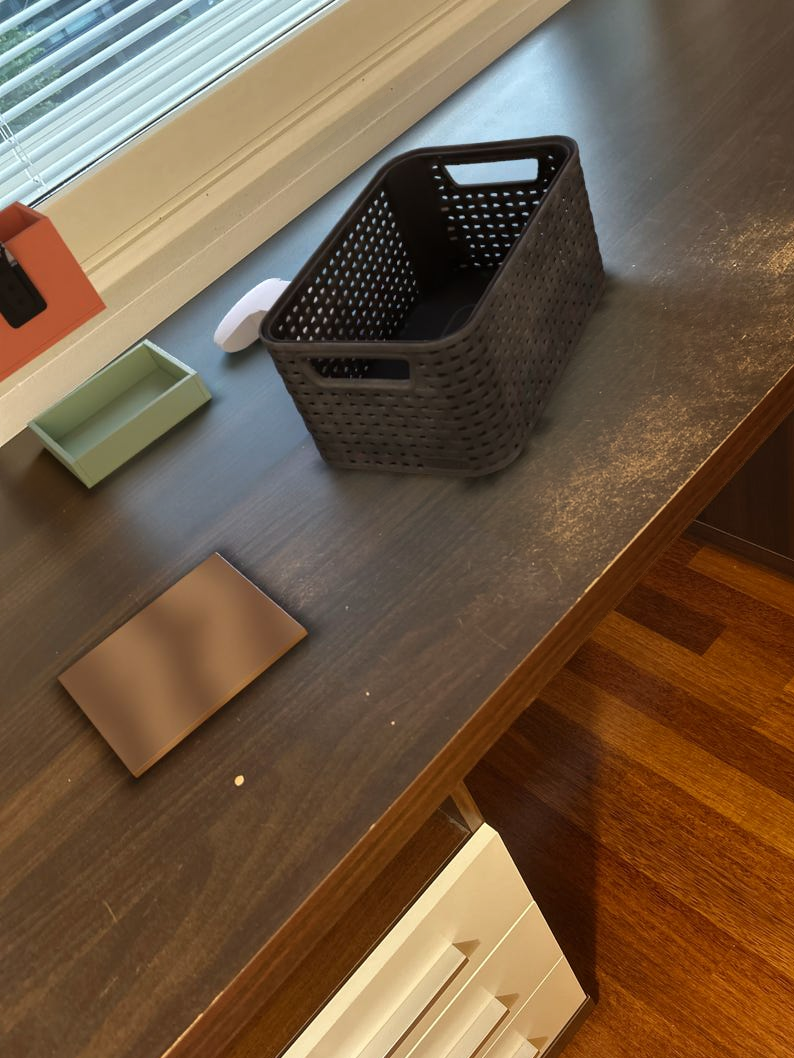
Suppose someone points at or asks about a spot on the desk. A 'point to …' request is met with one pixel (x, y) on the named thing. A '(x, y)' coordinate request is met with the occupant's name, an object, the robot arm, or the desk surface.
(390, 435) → the storage bin
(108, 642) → the metal plate
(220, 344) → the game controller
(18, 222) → the coral bin
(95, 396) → the green bin
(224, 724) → the desk surface
